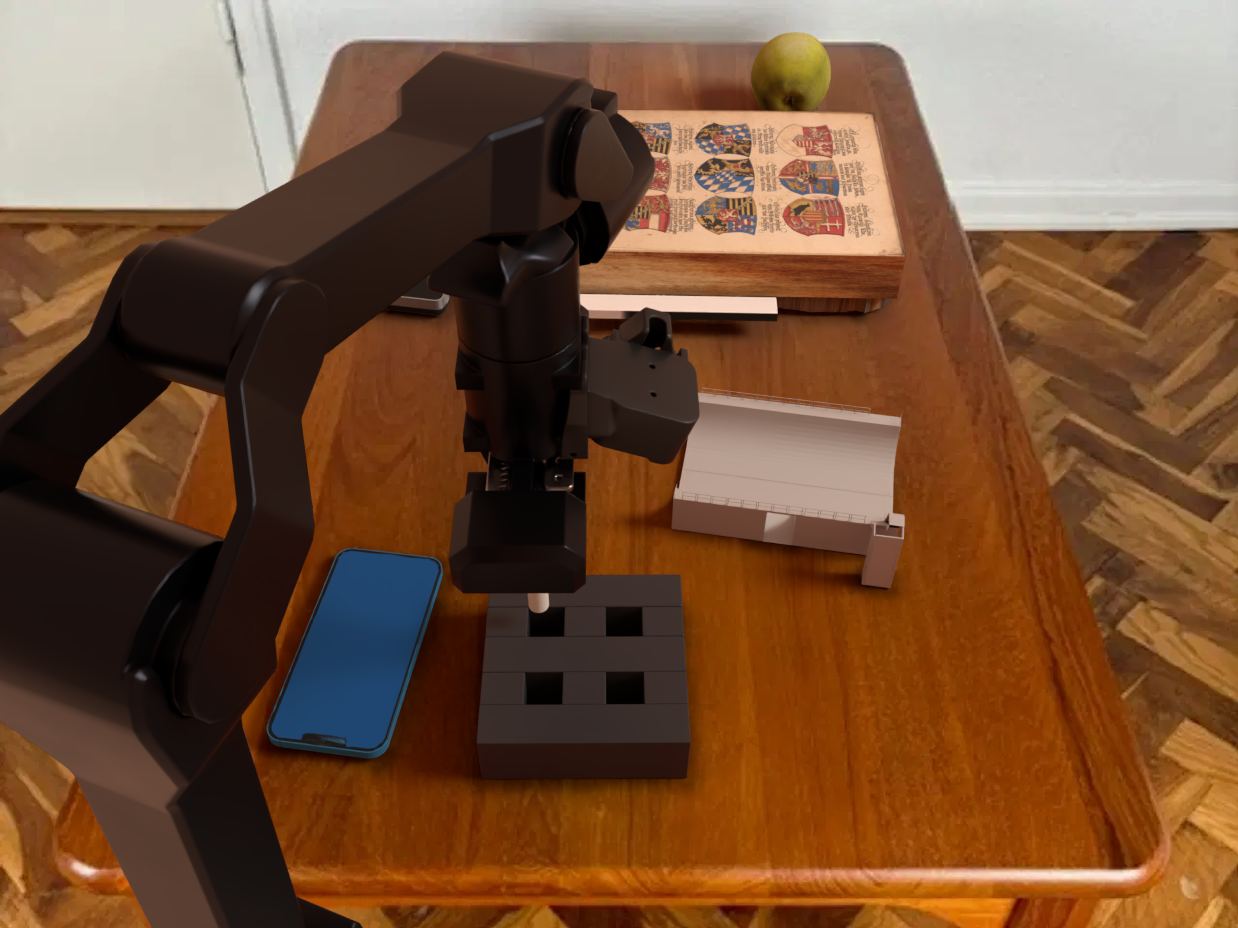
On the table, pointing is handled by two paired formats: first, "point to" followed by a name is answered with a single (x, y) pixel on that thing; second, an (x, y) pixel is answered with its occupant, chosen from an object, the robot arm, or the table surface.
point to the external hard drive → (421, 300)
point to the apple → (791, 73)
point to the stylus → (538, 602)
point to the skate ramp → (793, 478)
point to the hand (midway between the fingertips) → (534, 539)
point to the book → (754, 219)
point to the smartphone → (357, 654)
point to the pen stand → (586, 683)
